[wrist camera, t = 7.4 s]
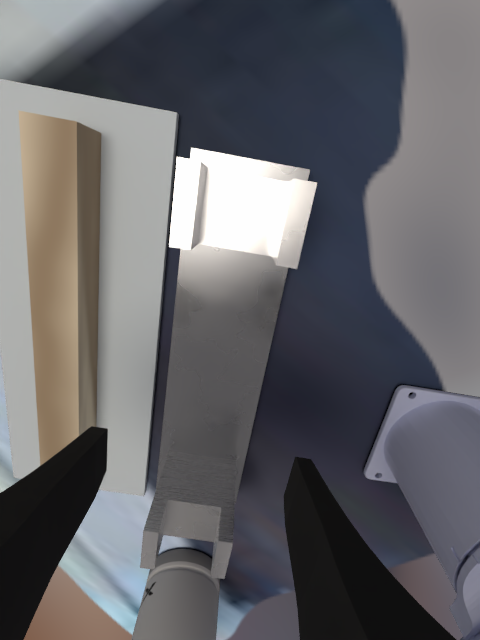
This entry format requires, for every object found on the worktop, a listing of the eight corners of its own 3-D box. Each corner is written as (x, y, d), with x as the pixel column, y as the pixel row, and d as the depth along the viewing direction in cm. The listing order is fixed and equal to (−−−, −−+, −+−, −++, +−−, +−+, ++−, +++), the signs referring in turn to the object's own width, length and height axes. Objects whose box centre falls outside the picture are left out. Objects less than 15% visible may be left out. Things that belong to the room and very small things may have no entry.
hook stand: (305, 171, 17) (342, 153, 11) (236, 489, 25) (232, 591, 19) (194, 151, 17) (161, 119, 10) (160, 478, 25) (128, 577, 18)
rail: (101, 133, 16) (76, 121, 14) (95, 474, 24) (79, 504, 22) (51, 123, 16) (18, 110, 14) (62, 469, 24) (42, 498, 22)
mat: (178, 115, 16) (176, 112, 16) (145, 490, 25) (143, 496, 25) (-21, 77, 16) (-29, 73, 15) (18, 472, 25) (13, 477, 24)
